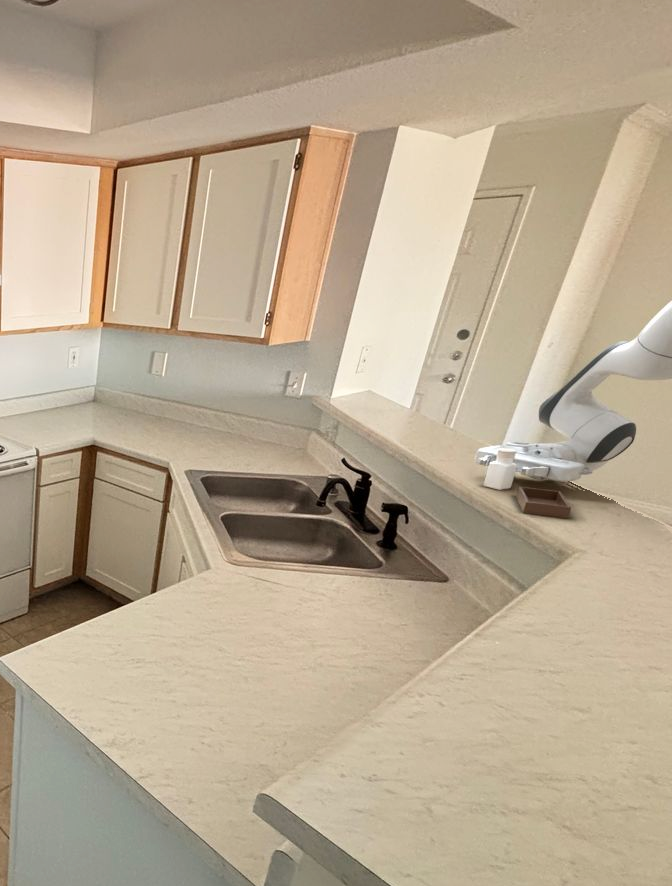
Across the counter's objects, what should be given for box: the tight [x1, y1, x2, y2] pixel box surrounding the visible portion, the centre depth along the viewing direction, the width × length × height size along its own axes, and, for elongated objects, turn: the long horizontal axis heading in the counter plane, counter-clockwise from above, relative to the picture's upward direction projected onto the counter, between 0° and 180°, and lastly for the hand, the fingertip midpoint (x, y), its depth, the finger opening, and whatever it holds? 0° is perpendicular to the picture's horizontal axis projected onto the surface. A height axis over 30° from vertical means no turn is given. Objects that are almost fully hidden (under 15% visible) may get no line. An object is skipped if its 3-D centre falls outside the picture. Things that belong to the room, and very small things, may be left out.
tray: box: [515, 486, 572, 519], centre depth 130 cm, size 13×7×2 cm, turn 143°
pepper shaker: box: [483, 448, 517, 491], centre depth 142 cm, size 4×4×10 cm
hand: (502, 466), depth 142 cm, fingers open, 8 cm apart
